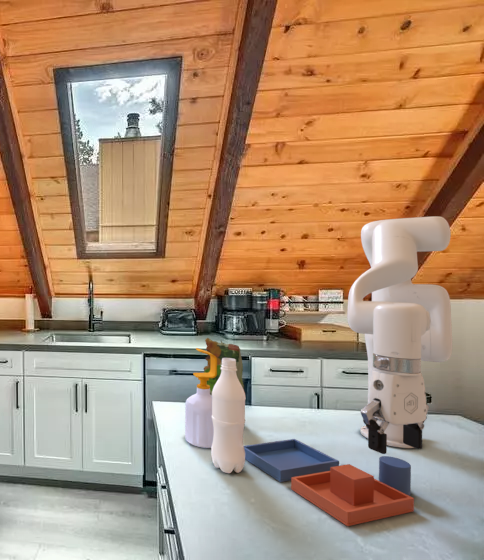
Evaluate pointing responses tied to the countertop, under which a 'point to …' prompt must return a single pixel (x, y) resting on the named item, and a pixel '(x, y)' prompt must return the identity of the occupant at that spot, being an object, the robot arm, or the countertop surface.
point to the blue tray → (288, 459)
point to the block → (352, 484)
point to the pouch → (221, 352)
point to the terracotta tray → (320, 495)
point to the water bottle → (228, 419)
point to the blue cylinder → (395, 473)
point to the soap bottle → (201, 409)
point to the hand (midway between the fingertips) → (395, 448)
